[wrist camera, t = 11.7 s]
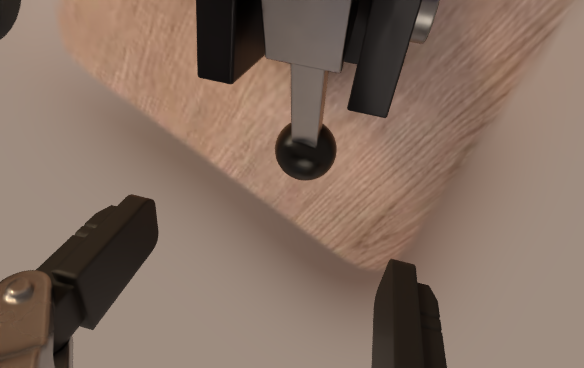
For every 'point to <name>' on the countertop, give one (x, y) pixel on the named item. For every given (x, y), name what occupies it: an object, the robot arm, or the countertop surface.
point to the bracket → (362, 51)
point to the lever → (307, 75)
